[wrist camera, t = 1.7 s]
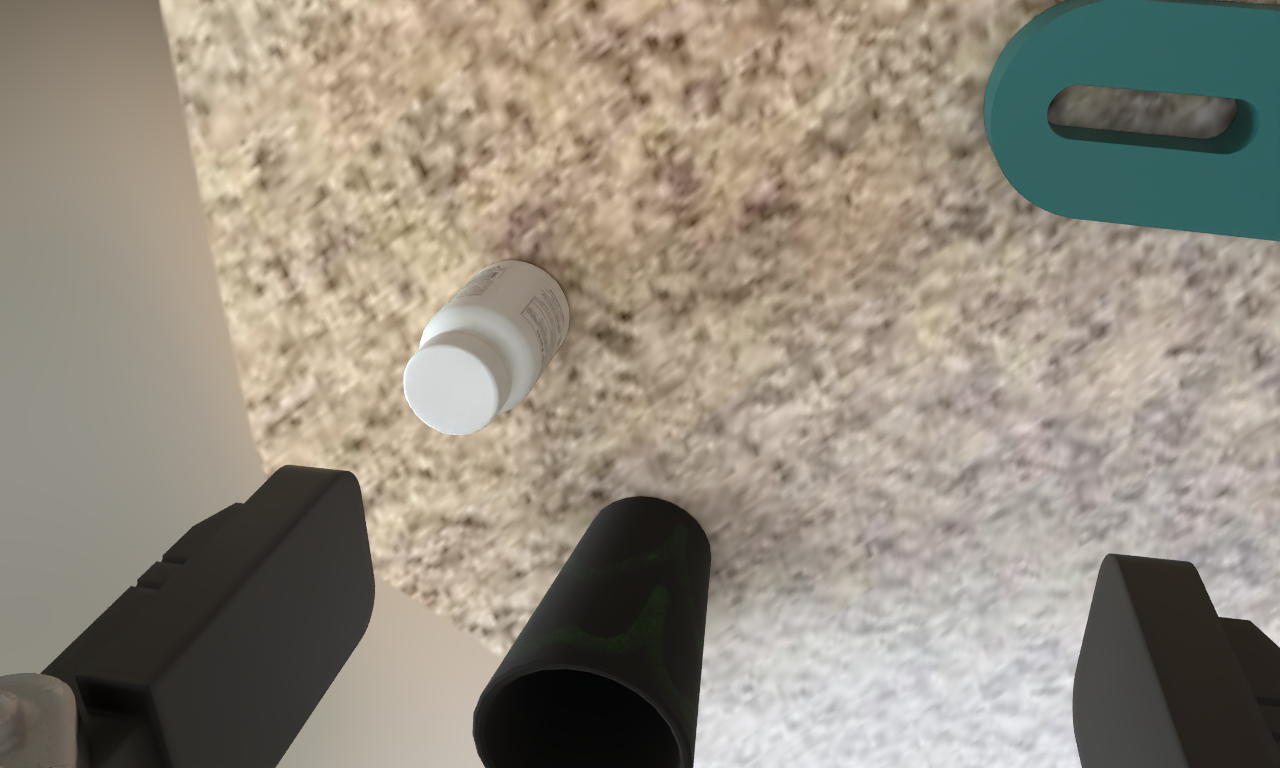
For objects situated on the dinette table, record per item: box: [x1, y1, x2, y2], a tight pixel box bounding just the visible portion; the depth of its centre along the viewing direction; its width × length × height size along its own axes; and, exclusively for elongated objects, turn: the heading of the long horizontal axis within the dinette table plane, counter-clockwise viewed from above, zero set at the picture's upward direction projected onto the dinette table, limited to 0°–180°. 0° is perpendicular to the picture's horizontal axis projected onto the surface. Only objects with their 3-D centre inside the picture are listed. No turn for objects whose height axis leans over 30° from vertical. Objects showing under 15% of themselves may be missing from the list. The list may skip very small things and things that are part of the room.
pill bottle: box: [403, 260, 570, 435], centre depth 38 cm, size 4×4×8 cm
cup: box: [473, 496, 711, 768], centre depth 40 cm, size 8×8×12 cm
